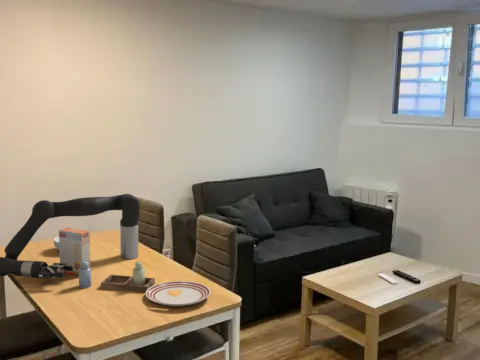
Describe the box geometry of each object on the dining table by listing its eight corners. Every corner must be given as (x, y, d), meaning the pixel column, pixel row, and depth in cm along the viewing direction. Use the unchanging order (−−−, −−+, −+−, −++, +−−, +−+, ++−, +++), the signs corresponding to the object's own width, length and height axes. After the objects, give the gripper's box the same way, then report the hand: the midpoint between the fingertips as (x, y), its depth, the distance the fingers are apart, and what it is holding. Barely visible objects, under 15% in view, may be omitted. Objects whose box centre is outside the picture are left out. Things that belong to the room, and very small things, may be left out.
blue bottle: (82, 283, 229) (81, 260, 228) (93, 284, 229) (92, 260, 227) (76, 287, 224) (76, 263, 222) (87, 288, 223) (87, 264, 222)
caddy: (110, 280, 233) (110, 274, 233) (154, 284, 230) (154, 278, 230) (100, 289, 223) (100, 283, 222) (146, 293, 220) (146, 287, 219)
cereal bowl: (63, 244, 286) (62, 232, 285) (91, 246, 284) (91, 234, 283) (47, 253, 270) (47, 241, 268) (77, 256, 267) (77, 243, 266)
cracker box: (91, 273, 243) (90, 230, 239) (82, 277, 237) (81, 233, 234) (68, 268, 248) (67, 226, 245) (59, 272, 243) (58, 229, 240)
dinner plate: (139, 290, 223) (139, 283, 223) (198, 283, 234) (198, 276, 233) (154, 316, 198) (154, 308, 198) (219, 306, 209) (220, 298, 209)
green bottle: (135, 284, 229) (135, 260, 227) (146, 285, 228) (146, 261, 226) (131, 288, 224) (130, 264, 222) (142, 289, 223) (142, 265, 221)
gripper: (25, 266, 222) (59, 269, 219) (42, 256, 235) (75, 258, 233) (25, 282, 223) (60, 285, 220) (43, 271, 237) (75, 274, 234)
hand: (68, 271), depth 227 cm, fingers open, 8 cm apart
